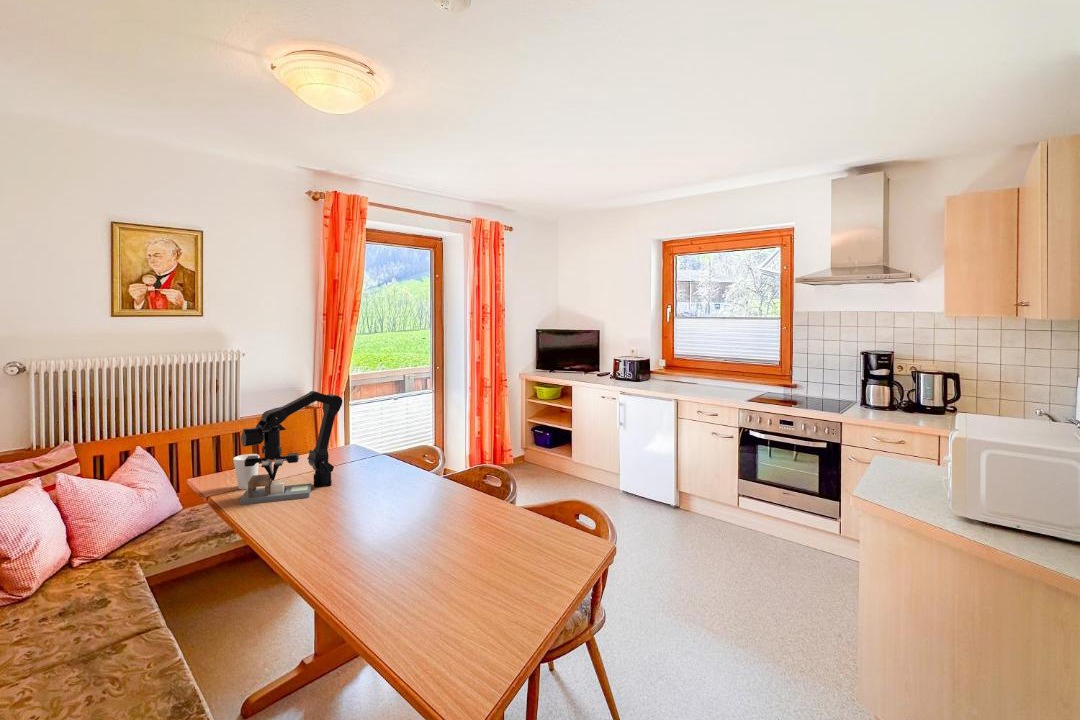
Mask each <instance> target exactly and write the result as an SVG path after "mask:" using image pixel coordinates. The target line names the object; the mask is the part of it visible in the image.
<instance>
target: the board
mask: <svg viewBox="0 0 1080 720" xmlns="http://www.w3.org/2000/svg"><path fill="white" fill-rule="evenodd" d="M312 487H313V486H312V483H302V484H301V483H299V484H291V485H289V484H288V485H285V493H277V494H270V489H269V495H266V496H265V487H261V488H260V487H257V488H256V490H252V497H248V489H245V491H244V493H243V495H242V496H241V498H240V506H241V505H242V506H243V505H249V504H261V503H269V502H278V501H280V502H281V501H287V500H297V499H308V498H310V496H311V491H312Z"/></svg>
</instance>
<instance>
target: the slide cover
mask: <svg viewBox="0 0 1080 720" xmlns="http://www.w3.org/2000/svg"><path fill="white" fill-rule="evenodd" d="M272 482H273V481H272V480H271V478H270V476H269V474H268V473H267V474H264V473H263V474H258V475H253V476H252V477H251V479H250V480H249V482H248V497H252V490H256V489H257V488H260V487H261V488H262V487H264V488H265V496H266V495H269V489H270V485H271V483H272Z"/></svg>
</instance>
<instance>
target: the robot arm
mask: <svg viewBox="0 0 1080 720" xmlns="http://www.w3.org/2000/svg"><path fill="white" fill-rule="evenodd" d="M316 402H318V403H322V411H323V416H322V420H321V423H320V428H319V432H318V437H317V441H316V445H315V447H314V449H313V450H312V449H310V450H309V451H308V457H307V460H308V464H309V466H310V467H312V468H313V470H315V471H314V474H313V485H314V488H319V487H320V488H321V487H331V486H332V483H333V480H332V472H333V471H334V468H335V466H334V465H332V463H330V462H329V450H328V448H329V443H330V441H331V440H330V438H331V436H332V431H333V430H332V429H333V425H334V422H335V418H336V415H337V414H338V413H339V412H340V410H341V407H342V406H343V399H342V397H341V396H340V395H336V394H332V393H328V394H324V393H321V392H319V391H316V390H310V391H308V393H306V394H304V395H303V396H300V397H299V398H297V399H295V400H293V401H290V402H289V403H287V404H285V405H283V406H279V407H274V408H272V409H271V408H270V409H269V410H265V411H264V412H263V413H262V415H261V419H260V420H259V421H258V422H257V424H256V425H255V427H253V428H251V427H250V428H243V429H242V432H241V436H240V441H241V445H242V447H251V446H257V445H262V443H263V445H262V449H261V453H262V454H263V457H260V458H258V456H248V457H247V458H246V460H245V462H244V463H245V467H248V466H254V465H255V464H256V463H259V464H260V463H261V468H264V469H265V471H266V472H267V474H269V476H270V478H271V480H272V482H274V481H275V479H276V476H277V472H278V470H279V468H280V467H282V466H283V464H284V462H285V461H286V462H287V463H288V464H295V463H299V460H300V455H299V452H289V453H287V455H282V453H283V452H282V446H281V431H285V430H286V427H284V426H283V425H282V423H283V422H285V421H286V419H287V418H288V417H289V416H291V415H292V414H295V413H296V412H298V411H300V410H302V409H304V408H306V407H307V406H309V405H312V404H313V403H316ZM272 462H273V463H274V464H273V463H272ZM272 464H273V465H272Z"/></svg>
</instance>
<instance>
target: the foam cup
mask: <svg viewBox="0 0 1080 720" xmlns="http://www.w3.org/2000/svg"><path fill="white" fill-rule="evenodd" d="M248 456H258V458H261V457H260V455H259V454H257V453H248V454H240V455H237V456H235V457H233V458H232V459H233V466H234V469H235V470H234V471H235V475H236V480H237V486H238V489H240V490H247V489H248V482H249V480H250V479H251V477H252V476H253V475H259V465H260V463H256V464H255V465H254V466H248V467H245V463H244V462H245V460H246V458H247V457H248Z"/></svg>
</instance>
